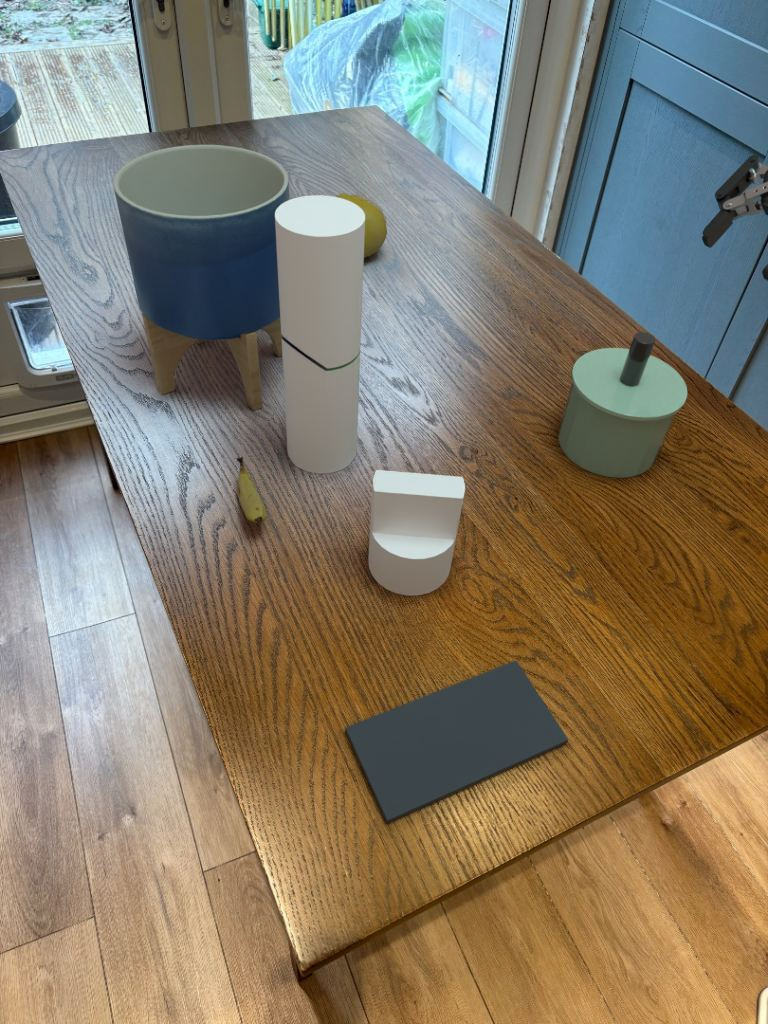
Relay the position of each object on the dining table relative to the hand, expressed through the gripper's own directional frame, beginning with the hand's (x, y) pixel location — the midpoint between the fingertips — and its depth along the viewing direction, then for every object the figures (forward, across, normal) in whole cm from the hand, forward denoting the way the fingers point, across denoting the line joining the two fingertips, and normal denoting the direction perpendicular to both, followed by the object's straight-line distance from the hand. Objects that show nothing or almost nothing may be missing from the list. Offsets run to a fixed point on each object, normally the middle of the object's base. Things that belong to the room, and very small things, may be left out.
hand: (734, 259), depth 85 cm
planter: (+50, -38, -18) cm, 65 cm away
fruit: (+27, -57, +6) cm, 64 cm away
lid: (+18, 0, +1) cm, 18 cm away
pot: (+24, 0, +8) cm, 26 cm away
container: (+48, -17, -15) cm, 53 cm away
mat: (+53, +23, -21) cm, 62 cm away
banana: (+56, -12, -24) cm, 62 cm away
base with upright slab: (+48, +4, -16) cm, 51 cm away
